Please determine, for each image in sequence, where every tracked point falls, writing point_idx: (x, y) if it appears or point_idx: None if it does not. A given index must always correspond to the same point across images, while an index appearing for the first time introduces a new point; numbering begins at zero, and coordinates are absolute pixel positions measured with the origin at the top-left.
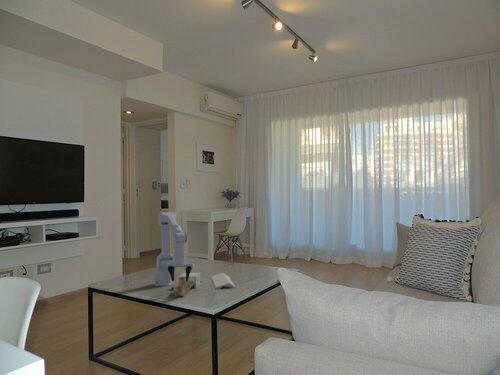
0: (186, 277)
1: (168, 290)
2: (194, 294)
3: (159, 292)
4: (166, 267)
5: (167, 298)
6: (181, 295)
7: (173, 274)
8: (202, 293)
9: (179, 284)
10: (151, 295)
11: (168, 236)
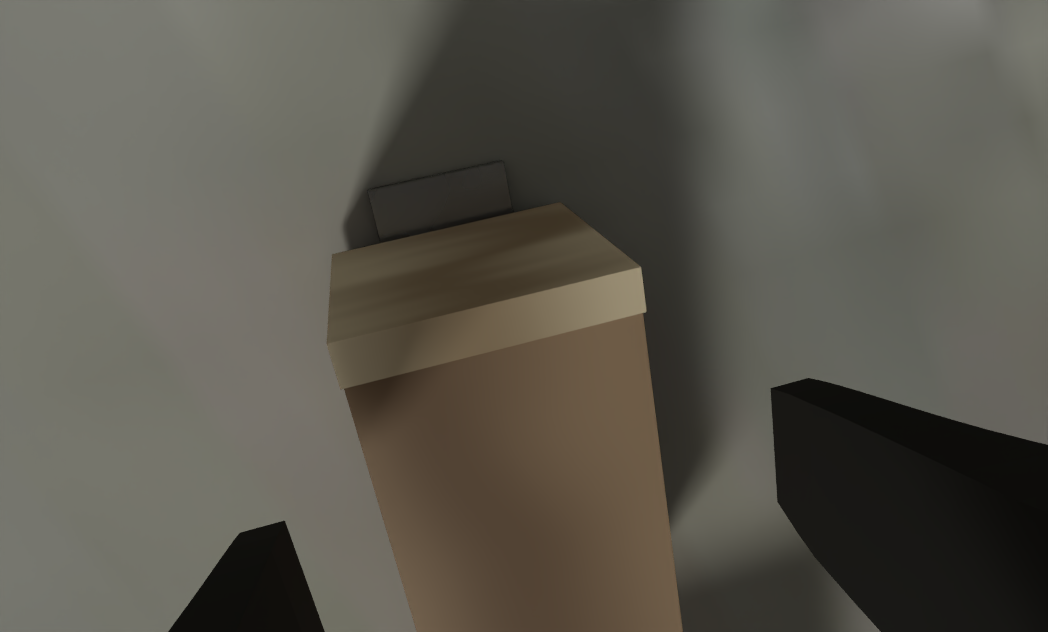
0: (218, 614)
1: None
2: (199, 488)
3: (958, 390)
4: None
5: (644, 33)
6: (387, 246)
7: (935, 614)
8: (64, 605)
9: (568, 484)
10: (1043, 166)
11: None
